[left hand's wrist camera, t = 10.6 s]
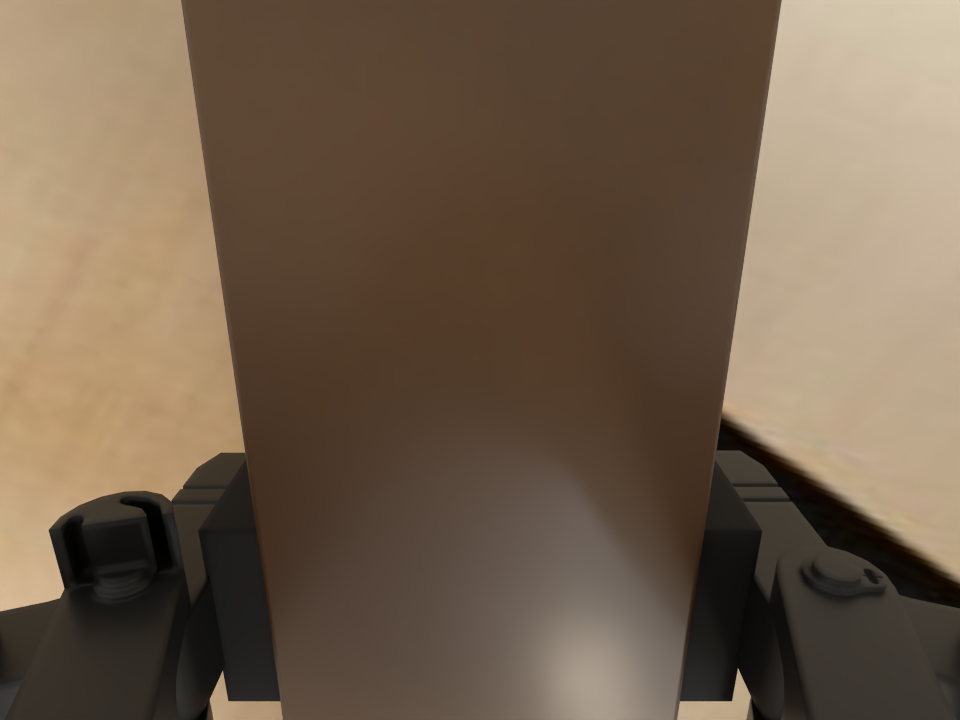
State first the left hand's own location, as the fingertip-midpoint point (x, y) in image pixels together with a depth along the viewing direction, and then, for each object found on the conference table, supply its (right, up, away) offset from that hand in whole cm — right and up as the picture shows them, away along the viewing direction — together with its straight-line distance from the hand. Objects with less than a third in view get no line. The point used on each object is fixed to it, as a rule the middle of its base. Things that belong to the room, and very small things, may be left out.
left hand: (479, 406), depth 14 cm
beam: (0, -30, +12) cm, 32 cm away
